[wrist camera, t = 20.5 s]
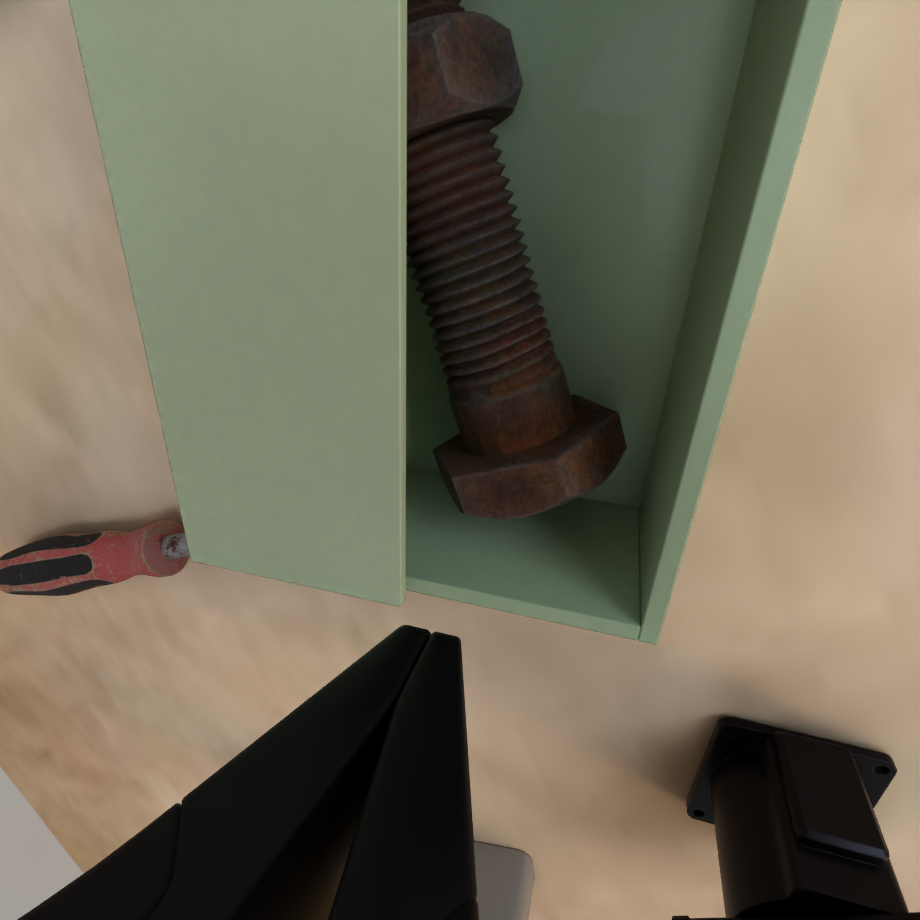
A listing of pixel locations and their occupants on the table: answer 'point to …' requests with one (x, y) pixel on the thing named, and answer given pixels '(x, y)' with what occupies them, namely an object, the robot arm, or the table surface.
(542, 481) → the bolt
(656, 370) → the carton
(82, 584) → the screwdriver
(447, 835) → the robot arm
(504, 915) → the power adapter
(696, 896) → the table surface
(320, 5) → the flap
